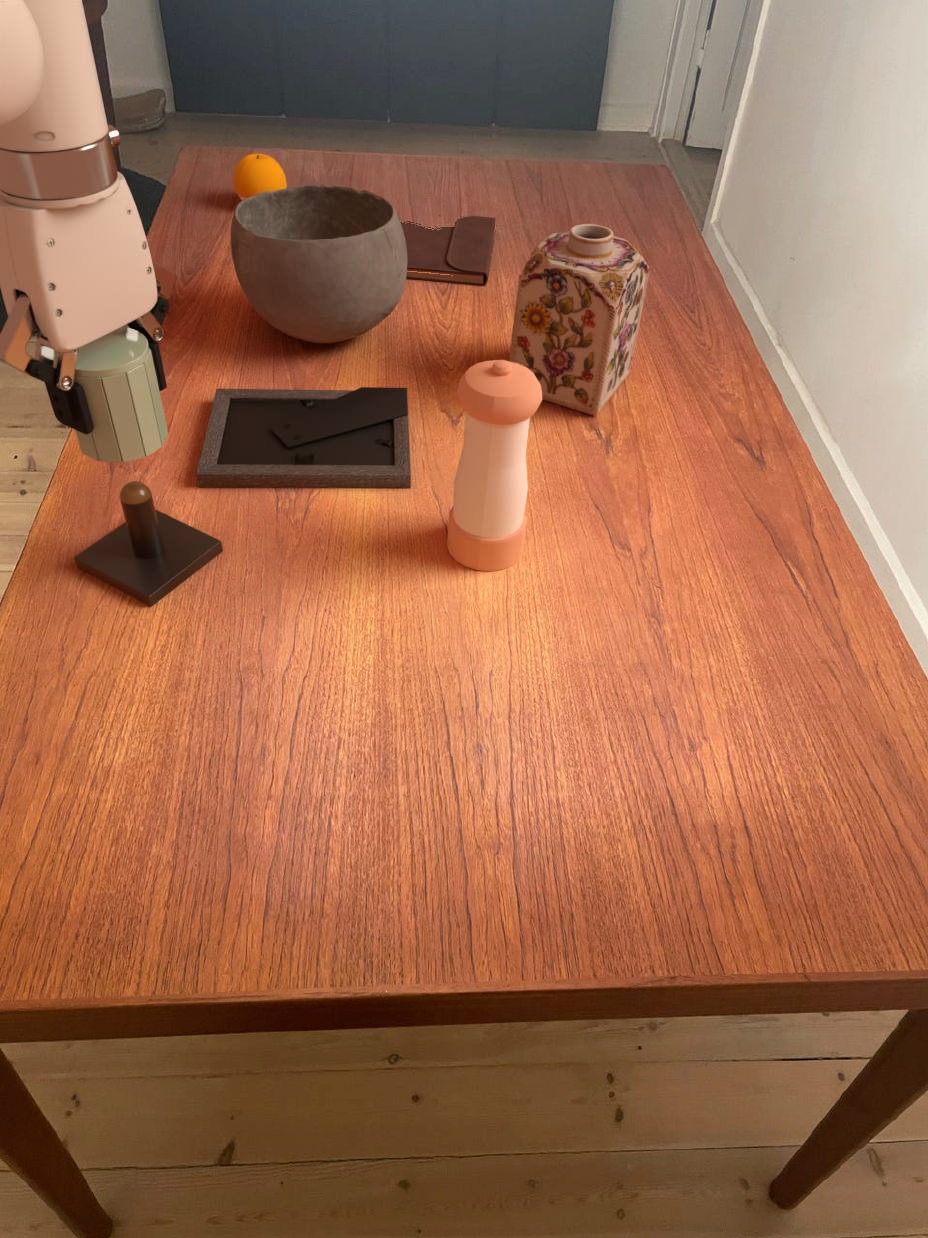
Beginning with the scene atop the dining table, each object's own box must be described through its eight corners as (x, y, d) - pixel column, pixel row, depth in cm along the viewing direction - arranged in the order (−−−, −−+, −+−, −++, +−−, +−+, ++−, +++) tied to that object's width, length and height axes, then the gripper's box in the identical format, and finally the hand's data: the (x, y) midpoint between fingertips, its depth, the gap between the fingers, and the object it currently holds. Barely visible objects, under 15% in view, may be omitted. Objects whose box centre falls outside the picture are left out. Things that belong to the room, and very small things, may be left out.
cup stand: (151, 606, 78) (132, 531, 72) (76, 567, 81) (52, 491, 75) (223, 551, 83) (210, 476, 78) (151, 515, 86) (133, 441, 81)
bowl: (431, 313, 119) (435, 194, 109) (363, 386, 105) (360, 258, 95) (292, 280, 124) (283, 163, 113) (209, 346, 110) (190, 219, 99)
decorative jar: (596, 419, 103) (624, 263, 90) (504, 390, 106) (518, 236, 94) (631, 374, 111) (662, 224, 98) (544, 348, 114) (563, 200, 101)
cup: (122, 472, 70) (98, 380, 64) (33, 431, 73) (3, 339, 68) (184, 432, 74) (167, 342, 68) (98, 394, 77) (75, 305, 72)
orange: (277, 193, 146) (272, 142, 140) (296, 210, 141) (292, 159, 136) (228, 200, 143) (222, 148, 137) (246, 218, 138) (240, 166, 133)
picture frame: (406, 403, 103) (218, 400, 101) (406, 387, 102) (215, 384, 100) (410, 487, 92) (198, 487, 90) (411, 471, 90) (195, 470, 89)
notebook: (379, 275, 126) (379, 261, 125) (399, 221, 140) (399, 208, 139) (487, 285, 126) (488, 271, 124) (496, 230, 140) (497, 217, 138)
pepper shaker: (486, 512, 90) (503, 331, 76) (539, 549, 86) (566, 366, 73) (431, 541, 86) (438, 357, 73) (483, 582, 82) (501, 396, 69)
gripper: (114, 119, 65) (160, 347, 78) (-106, 188, 54) (-12, 440, 67) (192, 142, 63) (227, 374, 75) (-22, 220, 52) (60, 475, 64)
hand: (114, 403), depth 71 cm, fingers closed on cup, 6 cm apart
